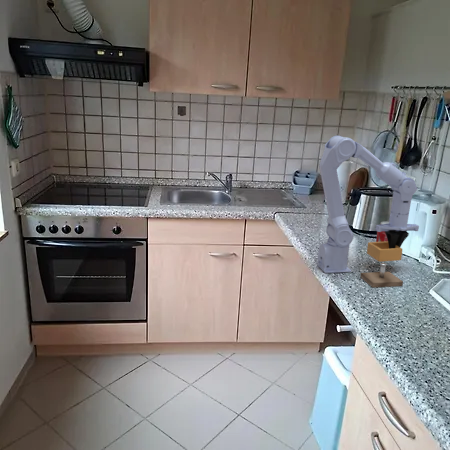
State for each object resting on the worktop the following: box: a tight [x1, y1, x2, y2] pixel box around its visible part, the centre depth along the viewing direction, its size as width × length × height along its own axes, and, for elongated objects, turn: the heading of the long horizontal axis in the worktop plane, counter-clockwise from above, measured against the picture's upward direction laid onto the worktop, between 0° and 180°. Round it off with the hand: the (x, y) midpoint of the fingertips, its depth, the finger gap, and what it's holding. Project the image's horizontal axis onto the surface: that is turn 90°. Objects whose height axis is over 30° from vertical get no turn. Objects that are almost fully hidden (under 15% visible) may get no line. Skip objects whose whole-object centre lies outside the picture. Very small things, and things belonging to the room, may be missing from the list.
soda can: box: [375, 220, 389, 242], centre depth 156 cm, size 7×7×12 cm
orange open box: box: [366, 241, 403, 263], centre depth 141 cm, size 8×8×4 cm
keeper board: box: [360, 262, 404, 288], centre depth 131 cm, size 10×8×6 cm
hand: (393, 251), depth 141 cm, fingers closed on orange open box
